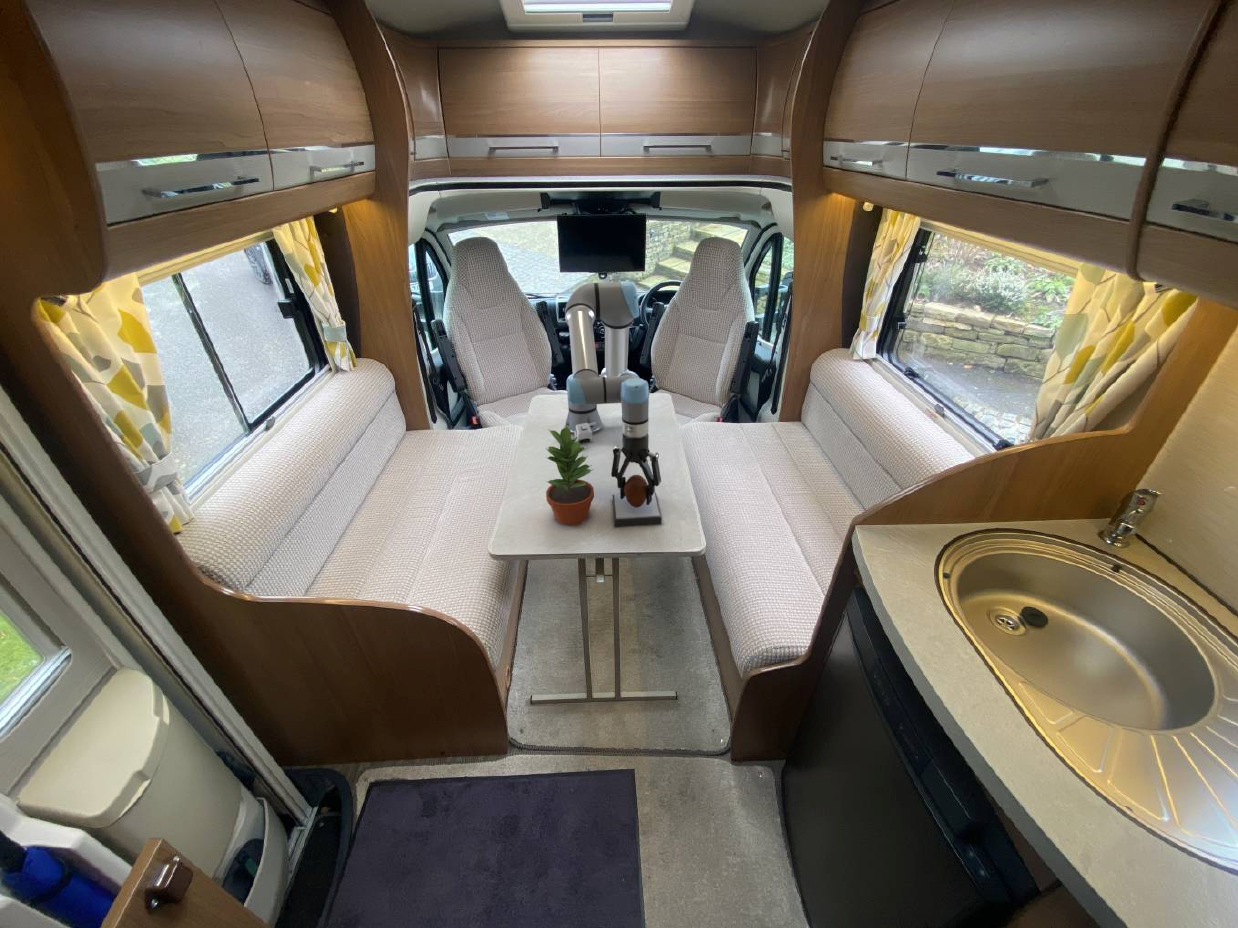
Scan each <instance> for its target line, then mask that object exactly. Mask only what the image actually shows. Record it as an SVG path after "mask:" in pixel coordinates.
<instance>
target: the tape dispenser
mask: <svg viewBox="0 0 1238 928" xmlns="http://www.w3.org/2000/svg"><path fill="white" fill-rule="evenodd" d="M574 433H575V434H574V439H575V438H576V437H578V438H577V439H576V441H575V442H577V441H578V440H579V443H580V445H582V444H586V443H590V442H592V439H593V434H592V431H591V429H590V426H589V424H588V423H583V424H578V425H576V430H575V431H574Z"/></svg>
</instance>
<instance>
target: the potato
mask: <svg viewBox="0 0 1238 928" xmlns="http://www.w3.org/2000/svg"><path fill="white" fill-rule="evenodd" d="M647 485H648V482H647V480H646V478H645V477H644V476H642V475H640V474H633V475H631V476H629V477H628V478H627V479H626V483H625V485H624V493H625V496H626V499H627V501H628V502H629V504H630V505H631V506H633V507H635V508H637V507H640V506H642V505H643V504H644V502H645V500H646V486H647Z"/></svg>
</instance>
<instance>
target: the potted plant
mask: <svg viewBox="0 0 1238 928" xmlns="http://www.w3.org/2000/svg"><path fill="white" fill-rule="evenodd" d="M548 431H549V432H550V434H551V435H552V437H553V438H554V439H555V440H556V441H557V442H558V444H559V448H558V447H556V446H548V447H547V448H546V451H547V452H548V453H549V454H550V456H548V457H546V459H547V460H549V461H551V462H553V463H555V464H556V467H557V471H558V472H559V475H560V477H561V478H554V479H549V480H548V481H546V480H545V482H546V483H548V484H549V485H550V486H548V488H547V489H546V491H545V497H546V502H547V504H548V505H549V506H550V508H551V510H552V512H553V515H554V517H555V519H556V520H557V522H558V523H559V524H562V525H564V526H575V525H579V524H582V523H583V522H585V521H586V520H587V519H588V517H589V514H590V509H591V506H592V502H593V500H594V498H595V490H594V489H595V488H594V486H593V485H592V484H591V483H589V482H588V481H586V480H583V479H581V478H582V477H585V476H587V475H589V474H590V473H591V472H592V471H593V470H594V468H593V469H590V468H591V467H592V464H591V465H589V464H587V463H585V464H583V463H584V462H585V461H586V460H587V458H588V457H589V455H586V456H584V454H582V455H581V456H579V454H580V453H582V452H584V451H585V450H586V449H587V447H585V446H582V444H580V443H579V440H578V441H577V442H576V439H577V438H578V437H576V438H575V437H574V438H573V439H572V434H571V430H570V429H569V428H568V427H567V425H566V424H565V427H564V428H562V429H561V430H560V433H559V432H558V431H556V430H552V429H551V430H550V429H548ZM578 456H579V457H578Z"/></svg>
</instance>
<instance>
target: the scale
mask: <svg viewBox="0 0 1238 928" xmlns="http://www.w3.org/2000/svg"><path fill="white" fill-rule="evenodd" d="M612 507H613V518H614V519H613V520H614V522H613V523H614V527H615V528H619V527H635V526H652V525H653V526H654V525H662V514H661V509H660V505H659V501H658V495H657V492H656V491H655V492H654V494H653V495H652V501H651V502H650V504H649V505H646V500H645V502H644V504H643V505H642V506H640V507H637V508H635V507H633V506H631V505H630V504H629V502H628V501H627V499H626V496H625V497H624V498H623V499H620V492H619V493H613V494H612Z"/></svg>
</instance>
